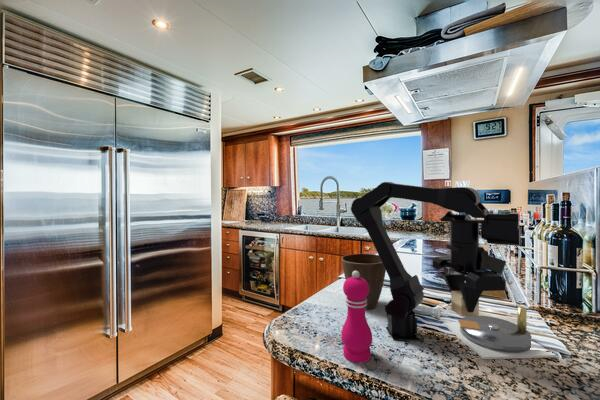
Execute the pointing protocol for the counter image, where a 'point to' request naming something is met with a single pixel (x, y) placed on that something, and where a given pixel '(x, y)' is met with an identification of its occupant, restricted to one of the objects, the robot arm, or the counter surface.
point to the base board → (491, 353)
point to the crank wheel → (498, 332)
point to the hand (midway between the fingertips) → (464, 308)
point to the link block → (462, 305)
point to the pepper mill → (356, 320)
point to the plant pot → (366, 274)
